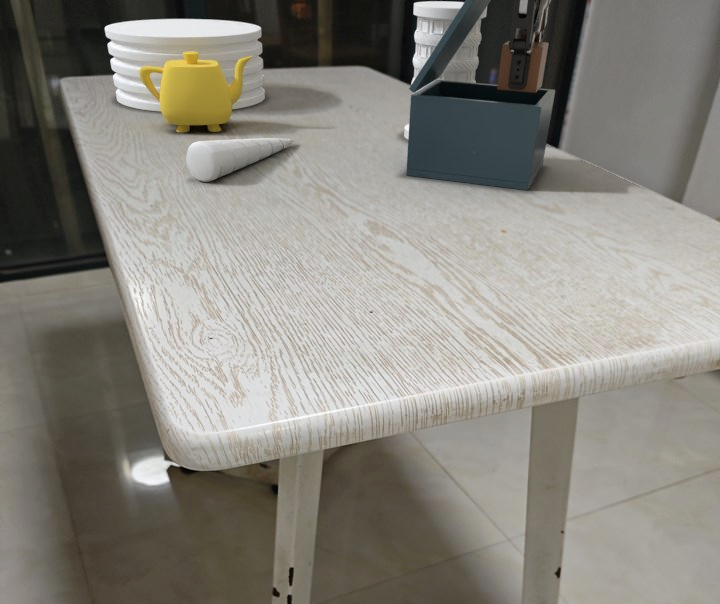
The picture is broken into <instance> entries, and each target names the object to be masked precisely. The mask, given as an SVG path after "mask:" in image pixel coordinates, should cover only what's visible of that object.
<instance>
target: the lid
mask: <svg viewBox="0 0 720 604" xmlns="http://www.w3.org/2000/svg"><path fill="white" fill-rule="evenodd" d="M491 1H492V0H465V1H463V2H464V4H463V6H462V7H461V9H460V10H459V12H458V13H457V15H456V16H455V18H454V20H453V21H452V23H451V24H450V26H449V27H448V29H447V30H446V32H445V34H444V35H443V37H442V38H441V40H440V41H439V43H438V44H437V46H436V47H435V49H434V51H433V52H432V54H431V55H430V57H429V58H428V60H427V61H426V63H425V65H424V66H423V68H422V69H421V71H420V72H419V74H418V75H417V77H416V79H415V80H414V82H413V83H412V82H411V83H412V85H411V84H410V87H409V88H408V89H409V91H410V92H412V94H413V93H414V92H416V91H418V90H419V89H421V88H423V87H424V86H426V85H428V84H429V83H431V82H433V81H434V80H436V79H438V78H439V77H440V76H441V74H442V73H443V71H444V70H445V68H446V67H447V65H448V64H449V62H450V61H451V59H452V58H453V56H454V55H455V53H456V52H457V50H458V49H459V47H460V46H461V44H462V43H463V41H464V40H465V38H466V37H467V35H468V34H469V32H470V31H471V29H472V28H473V26H474V25H475V23H476V22H477V20H478V19H479V17H480V16H481V14H482V13H483V11H484V10H485V8H486V7H487V8H488V5H489V4H490V2H491Z"/></svg>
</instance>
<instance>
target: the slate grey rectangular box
mask: <svg viewBox="0 0 720 604" xmlns="http://www.w3.org/2000/svg"><path fill="white" fill-rule="evenodd" d="M497 86H498V84H491V83H480V82H476V83H470V82H458V81H447V80H436V81H434V82H432V83H431V84H429V85H427V86H426V87H424V88H422V89H421V90H419V91H417V92H416V93H414V94H413V93H412V94H411V95H410V103H409V104H410V105H409V122H408V124H409V138H408V139H407V157H406V171H405V172H406V176H408V177H417V178H425V179H432V180H441V181H447V182H448V181H449V182H456V183H457V182H458V183H466V184H471V185H472V184H474V185H481V186H488V187H489V186H490V187H498V188H506V189H507V188H508V189H515V190H521V191H529V189H530V188H531V185H532V184H533V183H534V181H535V179H536V178H537V176H538V174H539V172H540V171H541V170H542V167H543V165H544V160H545V154H546V146H547V141H548V136H549V130H550V125H551V124H550V122H551V119H552V112H553V106H554V101H555V95H556V89H549V88H540V89H539V90H538V91H537V92H536V93H529V92H518V91H506V90H497Z"/></svg>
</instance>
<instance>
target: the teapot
mask: <svg viewBox="0 0 720 604" xmlns="http://www.w3.org/2000/svg"><path fill="white" fill-rule="evenodd" d="M183 56H184V58H185V60H170V61H167V62H166V63H165V65H164V68H161V67H155V66H144V67H141V68H140V69H139V75H140V78H141V80H142V82H143V83H144V85H145V86H146V87H147V89H148V90H149V91H150V92H151V93H152V94H153V96H154V97H155V98H156V99H157V100H158V101H159V102H160V109H161V112H160V113H161V114H162V117H163V118H164V119H165V122H167V124H169V125H177V127H176V130H175V131H176V132H177V133H188V132H190V130H191V129H190V128H191V126H206V127H207V130H208V132H212V133H214V132H215V133H216V132H217V133H218V132H221V131H222V128H221V126H220V125H222V124H227V123H228V122H229V121H230V119H231V116H232V113H233V110H232V105H233V104H234V103H235V102H237V101H238V99H239V98H240V96H241V93H242V86H243V70H244V67H245V65H246V63H247V62H248V61H249V60H250V59H251V58H252V57H253V56H249V57H245V58H241V59H239V60H238V62H237V64H236V67H235V77H234V80H233V82H232V84H231V85H229V86H228V84H227V82H226V79H225V77H224V74H223V72H222V70H221V67H220V65H219V63H218V62H217V61H214V60H198V56H199V53H198V52H192V51H189V52H184V53H183ZM151 73H161V74H162V78H161V83H160V94H159V93H158V91H157V90H156V88H155V87H154V85H153V83H152V81H151V79H150V74H151Z"/></svg>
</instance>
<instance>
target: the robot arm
mask: <svg viewBox="0 0 720 604" xmlns="http://www.w3.org/2000/svg"><path fill="white" fill-rule="evenodd" d="M512 1H513V2H512V11H511V12H512V13H511V22H510V23H511V24H510V31H509V32H510V33H509V40H508V41H509V45H508V46H509V50H510V51H511V54H513V55H512V59H511V67H510V74H509V81H508V87H509V88H510V89H519V90H522V89H524V88H525V87H526V83H527V77H528V70H529V63H530V57H531V56H530V55H531V53H532V52H533V43H534V42H543V39H544V38H545V28H546V26H547V23H548V14H549V6H550V4H551V1H552V0H512ZM519 37H520V38H519Z"/></svg>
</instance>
